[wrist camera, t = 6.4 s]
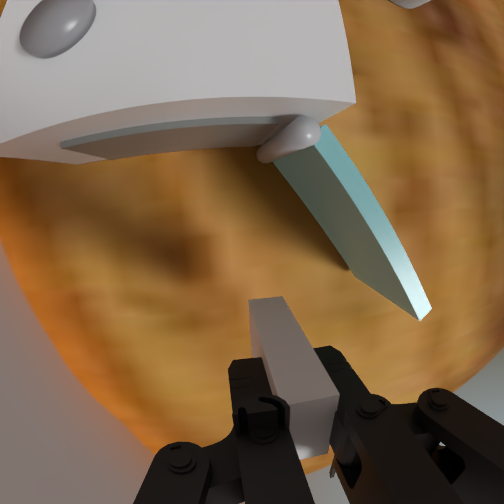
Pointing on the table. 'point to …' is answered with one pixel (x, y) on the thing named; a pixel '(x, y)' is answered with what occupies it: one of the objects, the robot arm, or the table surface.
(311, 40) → the cabinet body
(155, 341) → the table surface
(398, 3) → the coffee cup
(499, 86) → the table surface
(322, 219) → the side door
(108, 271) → the table surface
